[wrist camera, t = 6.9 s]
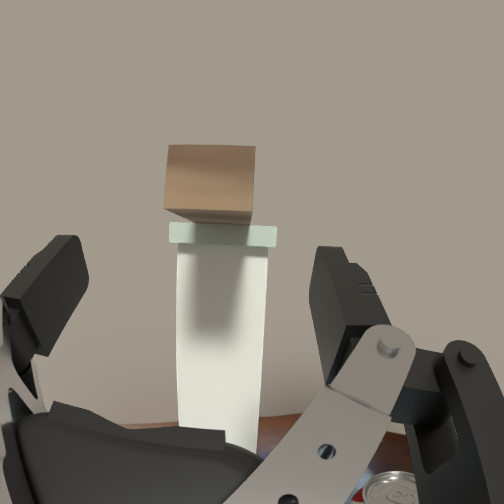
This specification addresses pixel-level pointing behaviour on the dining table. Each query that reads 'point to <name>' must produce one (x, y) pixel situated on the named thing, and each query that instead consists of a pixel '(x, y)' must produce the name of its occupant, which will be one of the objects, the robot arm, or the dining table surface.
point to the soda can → (388, 489)
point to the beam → (210, 183)
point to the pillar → (221, 326)
